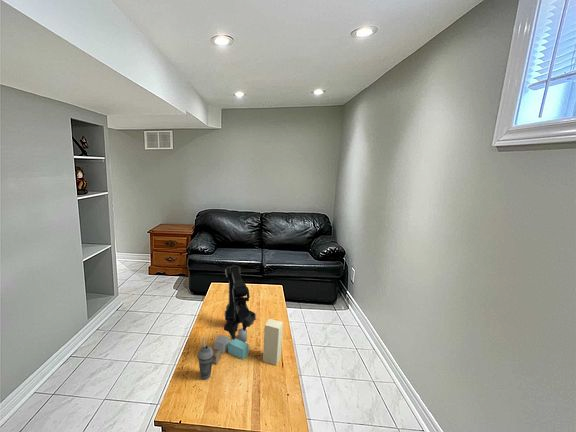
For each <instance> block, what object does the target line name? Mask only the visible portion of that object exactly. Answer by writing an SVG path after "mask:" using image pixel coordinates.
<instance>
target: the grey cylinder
mask: <svg viewBox="0 0 576 432" xmlns="http://www.w3.org/2000/svg"><path fill="white" fill-rule="evenodd" d="M237 339H238V340H240V341H243V342H245V343H247V340H248V329H246V330H245V331H244V330H243V327H242V328H239V329H237Z"/></svg>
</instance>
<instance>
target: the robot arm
mask: <svg viewBox="0 0 576 432" xmlns="http://www.w3.org/2000/svg"><path fill="white" fill-rule="evenodd" d="M224 269H225V270H224V273H225V277H226V278H227V280H228V303H227V305H226V307H225V311H224V313H223V315H224V319H225V324H224V325H223V331H226V332H227V333H229V335H230V337H231V340H232V339H233V340H235V338H236V333H237V332H238V330H239V329H238V328H239V327H238V326H239V325H240V324H242V328H243V330H244V331H245V330H247V328H250V327H251V326H252V325H253V324H254V322H255V321H256V320H257V317H256V315H257V314H256V313H255V312H254V311H251V310H250V309H249V307H248V305H247V302H249V301H250V297H251V296H250V295H251V294H250V291H249V288H248V286H247V285H246V283H245V282H244V281H243V280H242V279H243V278H242V276H241V266H239V265H231V266H227V267H226V268H224Z"/></svg>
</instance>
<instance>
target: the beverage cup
mask: <svg viewBox="0 0 576 432" xmlns="http://www.w3.org/2000/svg"><path fill="white" fill-rule="evenodd" d="M202 339H203V346H202V347H201V348H200V349H199V350H198V353H197V360H198V367H199V375H200V379H201V380H202V381H207V380H209V379H210V378H211V374H212V366H213V364H212V359H213V350H212V348H213V347H211V346H209V345H206V343H205V341H206V340H205V337H202Z"/></svg>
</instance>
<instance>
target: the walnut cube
mask: <svg viewBox="0 0 576 432" xmlns="http://www.w3.org/2000/svg"><path fill="white" fill-rule="evenodd" d="M211 348H212V350H213V359H212V365H214V366H217V365H218V363H219V362H220V360H221V359H222V356H221V355H222V353H221V350H218V349H214V347H211Z"/></svg>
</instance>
